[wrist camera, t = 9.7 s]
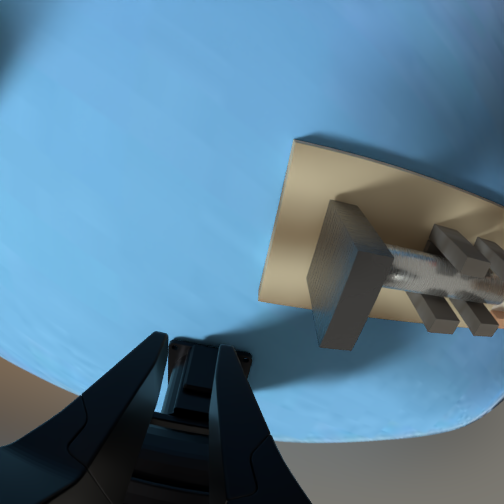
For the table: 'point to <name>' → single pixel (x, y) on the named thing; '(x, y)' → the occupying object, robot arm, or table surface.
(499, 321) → the picture frame
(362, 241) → the shaft
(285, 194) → the beige piece
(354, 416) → the table surface
